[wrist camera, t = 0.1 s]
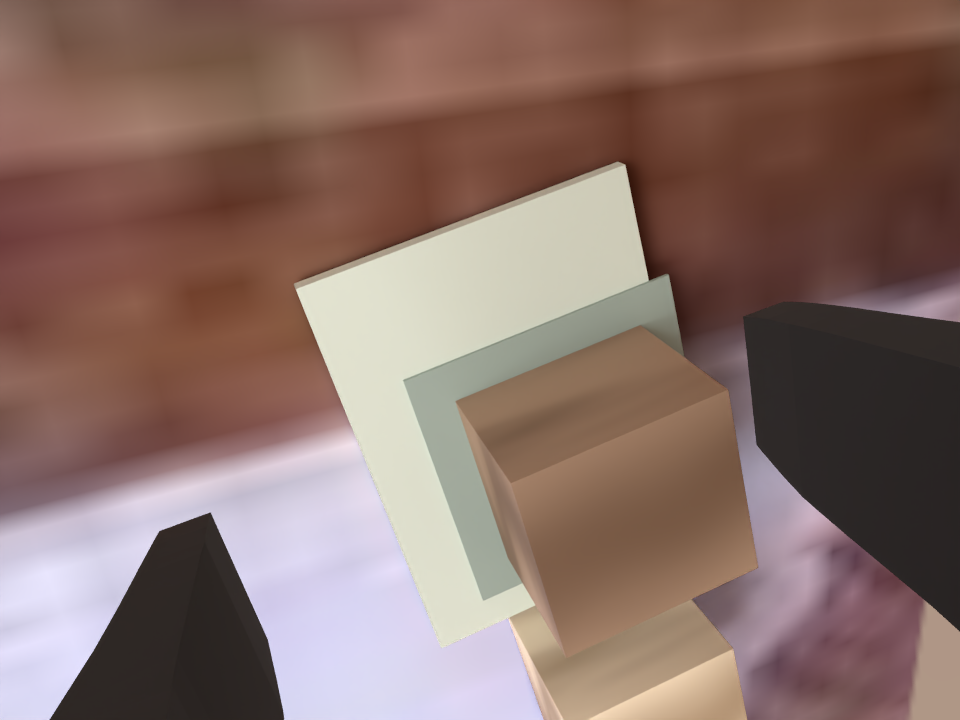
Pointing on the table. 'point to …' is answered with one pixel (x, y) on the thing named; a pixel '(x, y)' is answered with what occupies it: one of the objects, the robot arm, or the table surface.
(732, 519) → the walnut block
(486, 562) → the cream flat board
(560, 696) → the maple cube
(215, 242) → the table surface
